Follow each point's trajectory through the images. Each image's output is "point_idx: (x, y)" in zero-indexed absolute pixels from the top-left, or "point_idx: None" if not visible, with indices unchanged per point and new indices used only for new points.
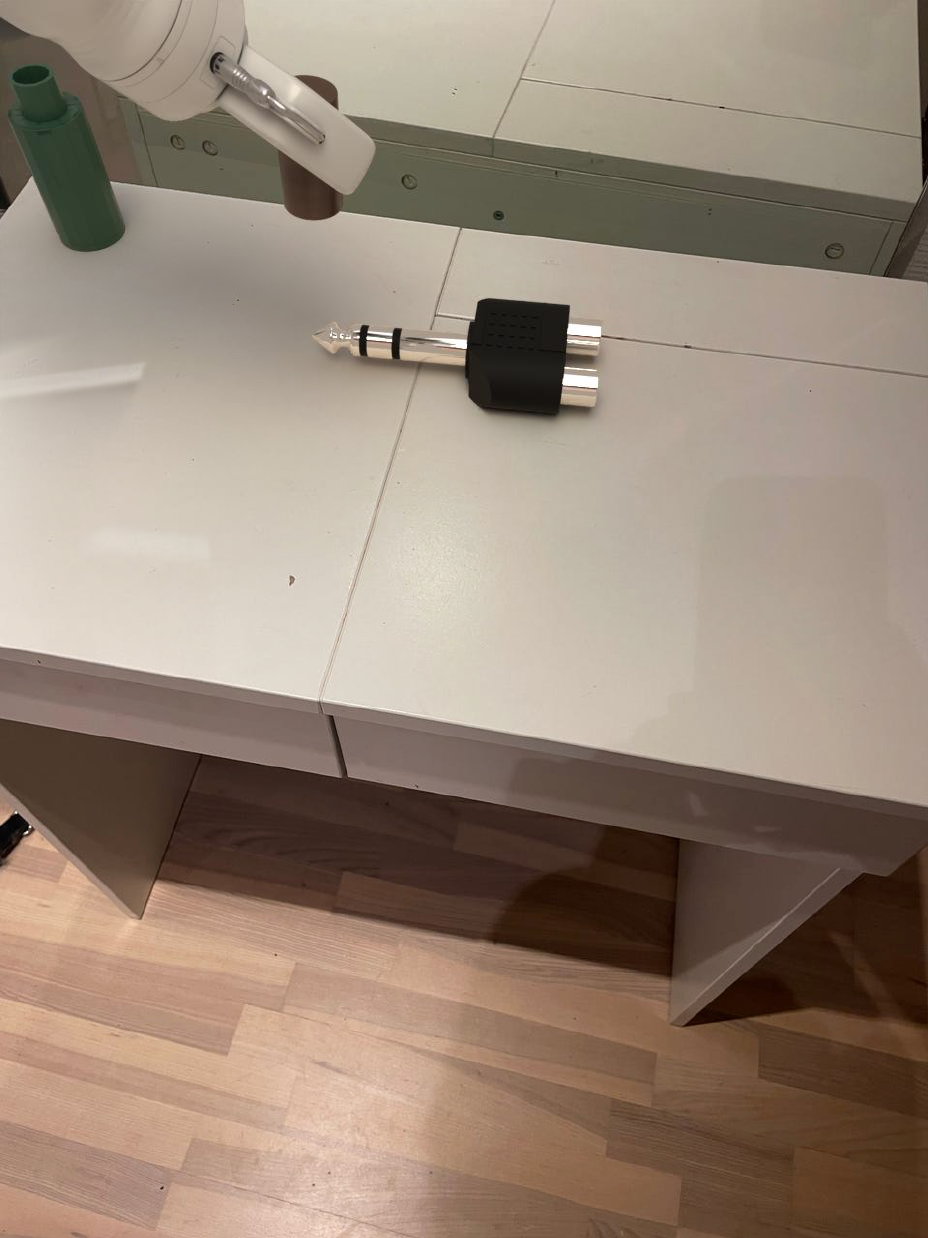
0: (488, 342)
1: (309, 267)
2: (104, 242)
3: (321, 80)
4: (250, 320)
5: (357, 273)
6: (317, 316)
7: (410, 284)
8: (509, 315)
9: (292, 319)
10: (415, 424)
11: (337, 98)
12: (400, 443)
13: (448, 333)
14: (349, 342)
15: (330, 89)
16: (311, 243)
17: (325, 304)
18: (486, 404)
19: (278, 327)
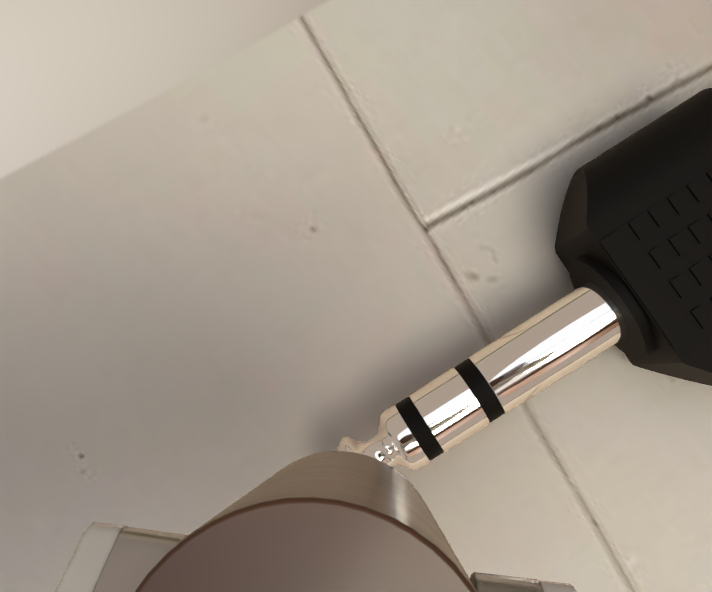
0: (703, 320)
1: (125, 285)
2: None
3: (284, 532)
4: (143, 483)
5: (215, 235)
6: (241, 385)
7: (323, 190)
8: (673, 216)
9: (208, 425)
10: (604, 490)
11: (474, 588)
12: (617, 549)
13: (573, 323)
14: (409, 468)
15: (395, 569)
16: (76, 227)
17: (229, 348)
18: (707, 384)
19: (202, 461)
